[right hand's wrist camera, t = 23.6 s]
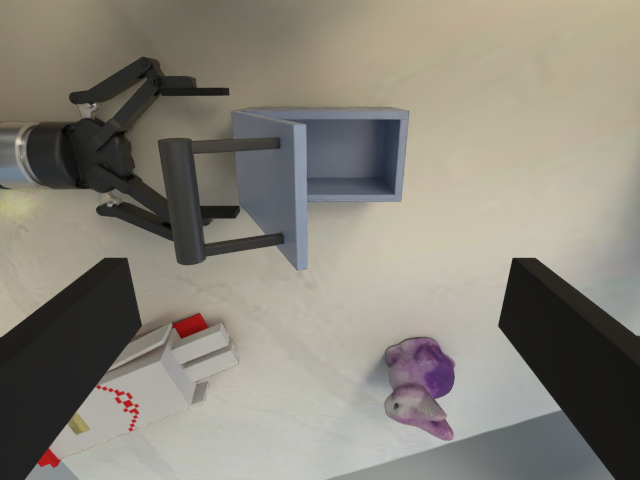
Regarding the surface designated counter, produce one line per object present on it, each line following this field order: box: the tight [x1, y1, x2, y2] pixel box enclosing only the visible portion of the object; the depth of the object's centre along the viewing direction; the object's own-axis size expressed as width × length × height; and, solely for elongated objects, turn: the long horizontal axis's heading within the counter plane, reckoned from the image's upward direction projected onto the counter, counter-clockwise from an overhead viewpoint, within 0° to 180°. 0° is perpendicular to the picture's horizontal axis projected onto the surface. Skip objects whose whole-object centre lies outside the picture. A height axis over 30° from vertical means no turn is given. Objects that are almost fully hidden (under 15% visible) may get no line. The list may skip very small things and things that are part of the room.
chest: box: [238, 107, 409, 202], centre depth 44 cm, size 18×10×10 cm, turn 90°
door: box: [158, 111, 308, 270], centre depth 30 cm, size 18×10×8 cm
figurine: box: [384, 338, 455, 441], centre depth 54 cm, size 9×10×15 cm
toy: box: [38, 313, 240, 468], centre depth 56 cm, size 12×13×30 cm
